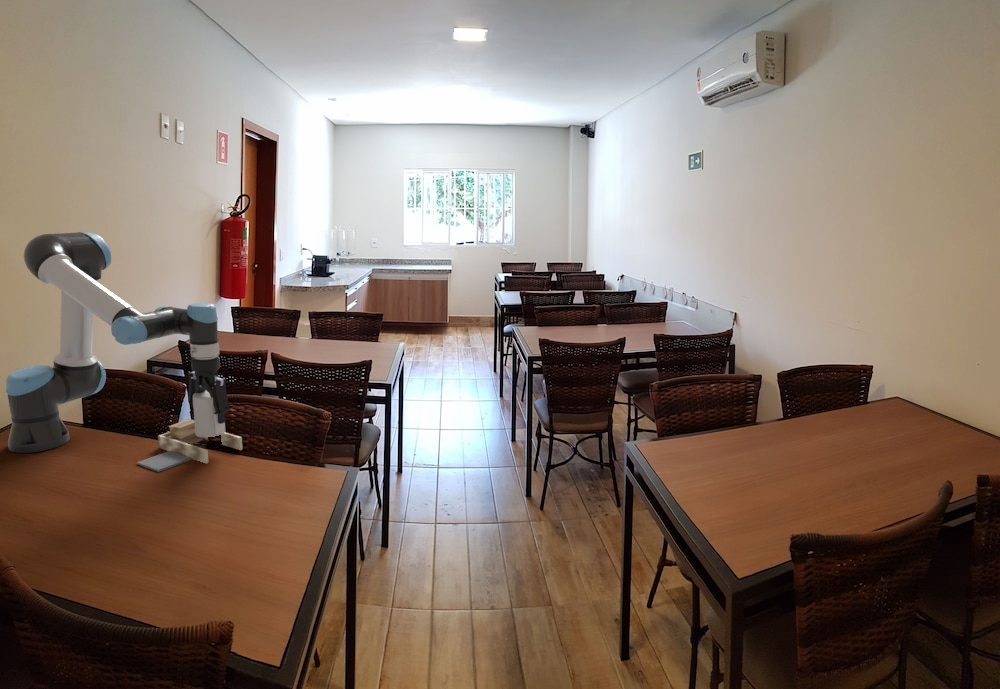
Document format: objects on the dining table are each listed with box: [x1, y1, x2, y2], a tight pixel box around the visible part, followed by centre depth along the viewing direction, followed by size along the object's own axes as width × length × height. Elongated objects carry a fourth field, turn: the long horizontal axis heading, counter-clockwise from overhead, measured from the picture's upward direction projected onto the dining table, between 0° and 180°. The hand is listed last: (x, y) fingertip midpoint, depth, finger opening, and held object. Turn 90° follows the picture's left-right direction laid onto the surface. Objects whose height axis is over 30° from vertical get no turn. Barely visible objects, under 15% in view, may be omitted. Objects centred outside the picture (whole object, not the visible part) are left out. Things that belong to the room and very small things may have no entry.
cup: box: [192, 390, 226, 438], centre depth 184 cm, size 8×8×12 cm
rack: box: [157, 431, 243, 464], centre depth 189 cm, size 22×13×4 cm, turn 62°
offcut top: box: [169, 418, 195, 439], centre depth 192 cm, size 4×7×4 cm, turn 160°
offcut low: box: [169, 433, 204, 445], centre depth 193 cm, size 4×9×4 cm, turn 151°
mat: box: [136, 451, 192, 473], centre depth 179 cm, size 10×10×1 cm
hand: (210, 429), depth 185 cm, fingers closed on cup, 8 cm apart
